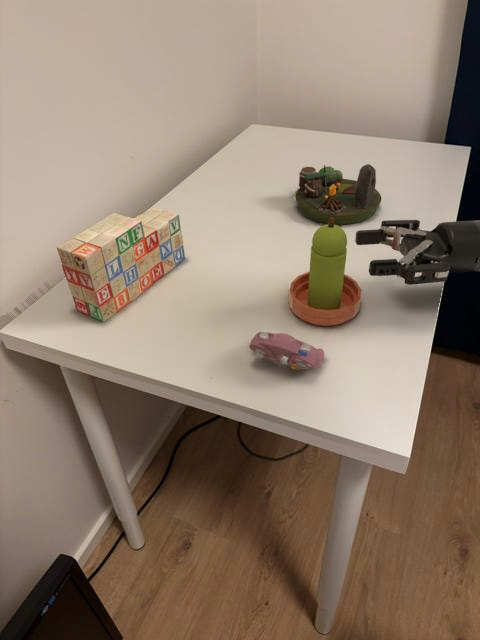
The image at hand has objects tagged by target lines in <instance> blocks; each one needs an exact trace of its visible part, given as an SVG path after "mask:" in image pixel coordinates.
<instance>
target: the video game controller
mask: <svg viewBox="0 0 480 640" xmlns="http://www.w3.org/2000/svg"><path fill="white" fill-rule="evenodd" d="M248 347H249V350H251V351H253V352H254V354H255V356H256V357H258V358H263V357H264V358H265V359H267V360H268V361H270V362H273V363H276V364H280V363H281V361H282V360H283V357H285V358H287V360H286V365H287V366H288V367H290V368H291V369H292V370H304V369H307V370H313V369H315V368H318V367H320V366H321V365H322V364H323V362H324V359H325V351H324V349H323V348H316V347H315V346H313V345H311V344H309V343H306V342H304V341H302V340H299V339H297V338H295V337H294V336H292V335H290V334H288V333H282V332H280V333H276V332H275V333H273V332H268V331H264V330H263V331H258V332H256V334H255V335H254V336H253V337H252V339H251V340H250V343H249V345H248Z"/></svg>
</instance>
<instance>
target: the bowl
mask: <svg viewBox="0 0 480 640" xmlns="http://www.w3.org/2000/svg"><path fill="white" fill-rule="evenodd" d="M309 273H310V271H307V272H304V273H302V274H299V275H297V277H295V278H294V279H293V280H292V281H291V283H290V285H289V290H288V291H289V292H288V293H289V294H288V305H289V307H290V309H291V311H292V313H293V315H296V316H297V317H298V318H299V319H300V320H302V321H305V322H306V323H309V324H312V325H314V326H315V325H316V326H322V327H323V326H324V327H328V326H329V327H331V326H337V325H340V324H344V323H346V322H348V321H350V320H352V319H354V318H355V317H356V315H357V314H358V313H359V311H360V306H361V301H362V288H361V286H360V285H359V283H358V282H357V281H356V280H355V279H353V278H352V277H350V276H349V275H348V274H345V273H344V279H343V288H342V296H341V304H340V307H339V308H338V309H334V310H323V309H315V308H312V307H310V306H309V305H308V288H309Z"/></svg>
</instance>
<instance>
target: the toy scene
mask: <svg viewBox="0 0 480 640" xmlns="http://www.w3.org/2000/svg"><path fill="white" fill-rule="evenodd" d="M376 171H377V170H376V168H374V166H372V165H371V164H369V163H367V164H365V165H362V166H361V168H360V169H359V171H358V175H357V180H354V179H350V178H349V179H348V178H344V177H343V173H342V171H341V170H339V169H335V168H334V167H332V166H331V165H328V166H326V164H323V167H322V168H320V169H319V171H317V169H316V168H315V167H313V166H304V167H302V168H301V170H300V172H299V174H298V176H299V177H298V178H299V179H298V189H297V190H296V191H295V194H294V198H295V201H296V202H297V208H298V210H299V211H300V213H301V214H302V215H304V216H305V217H307V218H308V219H310V220H313V221H315V222H319V223H322V224H326V225H327V224H328V222H329V218H330V217H333V218H334V225H350V224H357V223H361V222H364V221H366V220H368V219H370V218H371V217H372V216H374V215H375V214H376V212H377V209H378V208H379V207H378V206H380V204H381V203H382V195H381V193H380V192H379V191H378V189H376V185H377V176H376V175H377V172H376Z"/></svg>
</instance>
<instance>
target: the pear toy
mask: <svg viewBox="0 0 480 640" xmlns="http://www.w3.org/2000/svg"><path fill="white" fill-rule="evenodd" d="M347 246H348V237H347V234H346V232H345V230H344V229H343V228H342V227H341V226H339V225H338V224H334V218H333V217H330V218H329V222H328V224H327V223H326V224H323V225H322V226H320V227H318V228H317V229H316V230H315V232H314V233H313V236H312V239H311V247H310V257H309V258H310V259H309V272H310V273H309V288H308V305H309V306H310V307H312V308H315V309H323V310H334V309H338V308H339V307H340V304H341V296H342V288H343V279H344V274H345V272H346V271H345V270H346V263H347V262H346V261H347V252H348V249H347Z"/></svg>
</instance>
